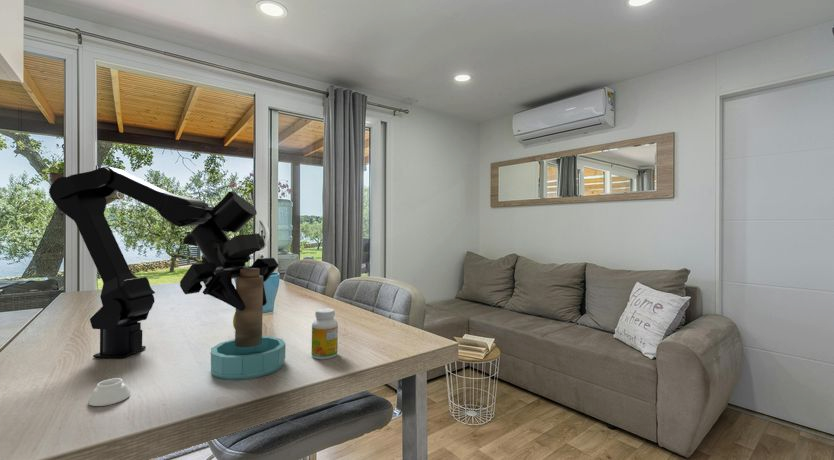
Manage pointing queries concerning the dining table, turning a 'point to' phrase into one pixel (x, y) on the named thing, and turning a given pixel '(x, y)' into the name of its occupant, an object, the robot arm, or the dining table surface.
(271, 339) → the bowl
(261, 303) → the pepper mill
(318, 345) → the supplement bottle
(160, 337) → the dining table surface
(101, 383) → the lidless jar
